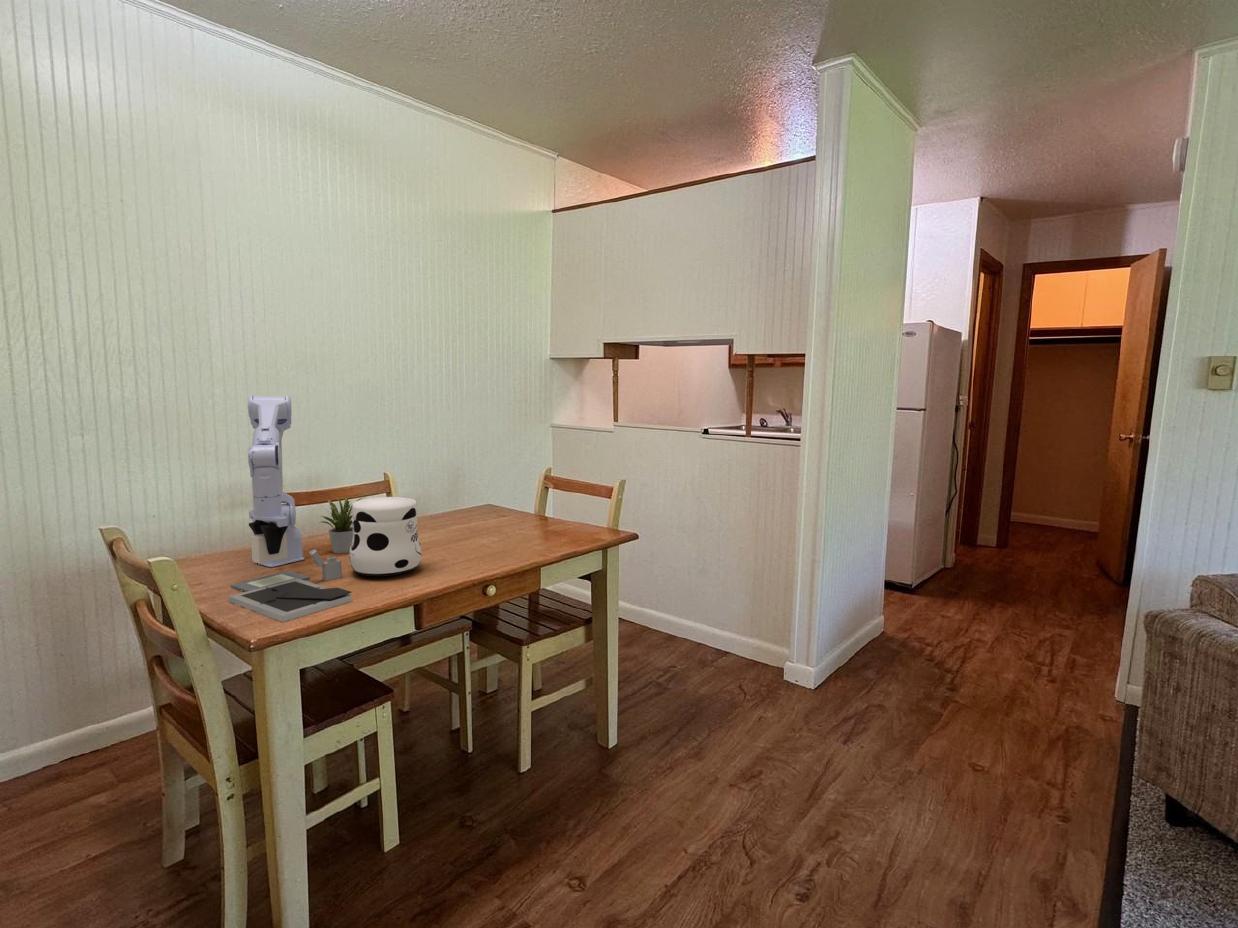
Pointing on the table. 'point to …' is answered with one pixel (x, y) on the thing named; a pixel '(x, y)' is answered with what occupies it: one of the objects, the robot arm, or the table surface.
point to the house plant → (340, 527)
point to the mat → (268, 581)
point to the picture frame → (291, 599)
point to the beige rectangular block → (261, 551)
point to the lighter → (327, 566)
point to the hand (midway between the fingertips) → (269, 552)
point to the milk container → (384, 536)
